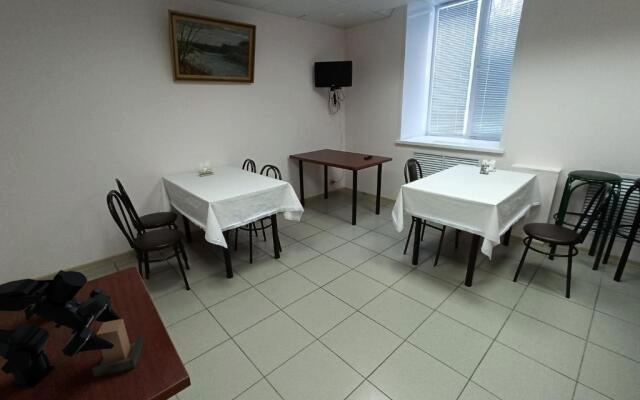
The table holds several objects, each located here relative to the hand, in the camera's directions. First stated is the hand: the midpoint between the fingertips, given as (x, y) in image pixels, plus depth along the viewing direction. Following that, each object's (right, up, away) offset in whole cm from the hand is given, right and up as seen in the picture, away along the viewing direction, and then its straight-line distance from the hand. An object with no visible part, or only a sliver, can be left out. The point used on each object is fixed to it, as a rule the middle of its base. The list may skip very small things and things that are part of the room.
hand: (118, 335), depth 86 cm
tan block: (-1, -7, +2) cm, 8 cm away
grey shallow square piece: (-1, -8, +2) cm, 8 cm away
